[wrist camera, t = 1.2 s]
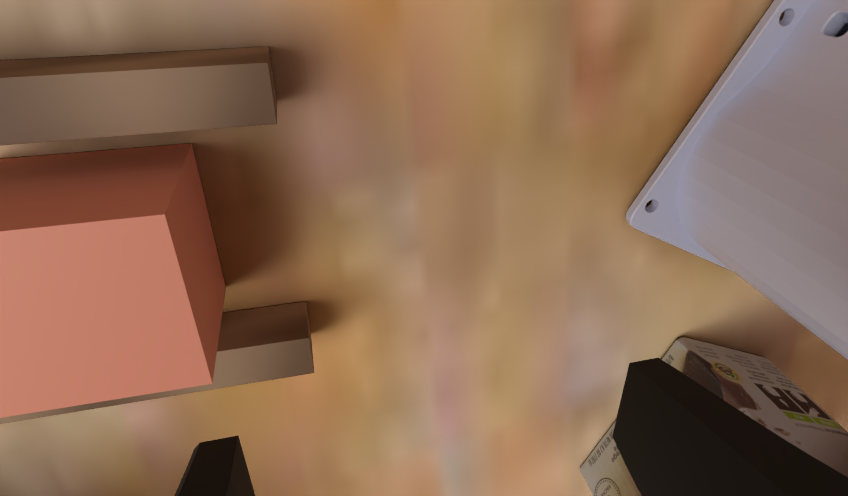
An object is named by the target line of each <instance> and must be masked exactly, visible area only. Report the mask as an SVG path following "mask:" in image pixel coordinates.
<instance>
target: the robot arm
mask: <svg viewBox="0 0 848 496" xmlns="http://www.w3.org/2000/svg"><path fill="white" fill-rule="evenodd" d="M784 10H785V13H784V17H783V19H782V20H781V21H780V22H779V18H780V16H781V14H782V12H783V11H784ZM650 200H652V202H651V204H650V205H649V206H648V207H645V206H646V204H647V203H648V202H649V201H650ZM626 220H627V222H628V223H629V224H630V225H631V226H632V227H633V228H635V229H637V230H639V231H642V232H644V233H646V234H648V235H651V236H653V237H655V238H658V239H660V240H662V241H665V242H667V243H669V244H671V245H674V246H676V247H678V248H681V249H683V250H685V251H687V252H690V253H692V254H694V255H697V256H699V257H701V258H703V259H706V260H708V261H710V262H713V263H715V264H717V265H719V266H722V267H724V268H726V269H729V270H731V271H733V272H734V273H736V274H737V275H738V276H740V277H741V278H742V279H743V280H745V281H746V282H747V283H749V284H750V285H751V286H753V287H754V288H755V289H756V290H758V291H759V292H760V293H762V294H763V295H764V296H766V297H767V298H768V299H769V300H771V301H772V302H773V303H775V304H776V305H777V306H778V307H780V308H781V309H782V310H784V311H785V312H786V313H788V314H789V315H790V316H791V317H793V318H794V319H795V320H797V321H798V322H799V323H801V324H802V325H803V326H804V327H806V328H807V329H808V330H810V331H811V332H812V333H813V334H815V335H816V336H817V337H819V338H820V339H821V340H823V341H824V342H825V343H826V344H828V345H829V346H830V347H832V348H833V349H834V350H835V351H837V352H838V353H839V354H841V355H842V356H843V357H845V358H846V359H847V360H848V0H774V1H773V3H772V4H771V6H770V7H769V9H768V10H767V11H766V13H765V14H764V16H763V17H762V19H761V20H760V21H759V23H758V24H757V26H756V27H755V29H754V30H753V31H752V33H751V34H750V36H749V37H748V39H747V40H746V41H745V43H744V44H743V46H742V47H741V49H740V50H739V52H738V53H737V54H736V56H735V57H734V59H733V60H732V62H731V63H730V64H729V66H728V67H727V69H726V70H725V72H724V73H723V74H722V76H721V77H720V79H719V80H718V82H717V83H716V84H715V86H714V87H713V89H712V90H711V92H710V93H709V94H708V96H707V97H706V99H705V100H704V102H703V103H702V105H701V106H700V107H699V109H698V110H697V112H696V113H695V115H694V116H693V117H692V119H691V120H690V122H689V123H688V125H687V126H686V127H685V129H684V130H683V132H682V133H681V135H680V136H679V137H678V139H677V140H676V142H675V143H674V145H673V146H672V147H671V149H670V150H669V152H668V153H667V155H666V156H665V158H664V159H663V160H662V162H661V163H660V165H659V166H658V168H657V169H656V170H655V172H654V173H653V175H652V176H651V178H650V179H649V180H648V182H647V183H646V185H645V186H644V188H643V189H642V190H641V192H640V193H639V195H638V196H637V198H636V199H635V200H634V202H633V203H632V205H631V206H630V208H629V209H628V211H627V213H626ZM612 437H613V439H614V441H615V443H616V445H617V447H618V450H619V452H620V454H621V456H622V458H623V460H624V463H625V465H626V467H627V469H628V471H629V473H630V475H631V477H632V479H633V481H634V483H635V485H636V487H637V488H638V490H639V492H640V493H641V495H642V496H848V477H847V476H845V475H843V474H841V473H840V472H838V471H836V470H835V469H833V468H831V467H829V466H828V465H826V464H824V463H823V462H821V461H819V460H818V459H816V458H814V457H812V456H811V455H809V454H807V453H806V452H804V451H803V450H801V449H799V448H798V447H796V446H794V445H793V444H791V443H790V442H788V441H786V440H785V439H783V438H782V437H780V436H778V435H777V434H775V433H774V432H772V431H770V430H769V429H767V428H766V427H764V426H763V425H761V424H760V423H758V422H756V421H755V420H753V419H752V418H750V417H749V416H747V415H746V414H744V413H743V412H741V411H740V410H738V409H736V408H735V407H733V406H732V405H730V404H729V403H727V402H726V401H724V400H723V399H721V398H720V397H718V396H717V395H715V394H714V393H712V392H711V391H709V390H708V389H706V388H705V387H703V386H702V385H700V384H699V383H697V382H696V381H694V380H693V379H691V378H690V377H688V376H686V375H685V374H683V373H682V372H680V371H679V370H677V369H676V368H674V367H673V366H671V365H669V364H668V363H666V362H665V361H663V360H661V359H660V358H654V359H649V360H643V361H638V362H633V363H630V364H629V368H628V372H627V376H626V381H625V385H624V389H623V393H622V398H621V402H620V406H619V410H618V414H617V419H616V423H615V427H614V431H613V436H612ZM175 496H255V494H254V490H253V487H252V483H251V479H250V476H249V472H248V469H247V465H246V462H245V458H244V455H243V451H242V447H241V444H240V440H239V437H238V436H234V437H228V438H223V439H218V440H212V441H207V442H201V443H199V444H198V446H197V447H196V448H195V449H194V451H193V454H192V456H191V459H190V461H189V464H188V466H187V468H186V471H185V473H184V475H183V478H182V480H181V482H180V485H179V487H178V489H177V491H176V494H175Z"/></svg>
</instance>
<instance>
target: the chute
mask: <svg viewBox="0 0 848 496" xmlns="http://www.w3.org/2000/svg"><path fill="white" fill-rule="evenodd" d="M268 124H277V100H276V93H275V86H274V79H273V73H272V66H271V59H270V52H269V46H268V47H249V48H230V49H210V50H191V51H172V52H152V53H133V54H114V55H94V56H75V57H56V58H36V59H17V60H0V145H11V144H24V143H37V142H50V141H63V140H75V139H88V138H101V137H114V136H127V135H140V134H153V133H166V132H178V131H191V130H204V129H217V128H230V127H243V126H256V125H268ZM310 373H314V365H313V353H312V341H311V332H310V325H309V318H308V311H307V304H306V301H305V302H298V303H291V304H284V305H276V306H269V307H262V308H255V309H248V310H240V311H233V312H226V313H222V319H221V326H220V333H219V340H218V348H217V355H216V362H215V369H214V377H213V384H208V385H201V386H195V387H189V388H183V389H177V390H170V391H164V392H158V393H152V394H146V395H139V396H133V397H127V398H121V399H115V400H108V401H102V402H96V403H90V404H83V405H77V406H71V407H65V408H59V409H52V410H46V411H40V412H34V413H28V414H21V415H15V416H9V417H3V418H0V424H3V423H9V422H15V421H21V420H27V419H34V418H40V417H46V416H52V415H58V414H64V413H70V412H77V411H83V410H89V409H95V408H101V407H107V406H113V405H120V404H126V403H132V402H138V401H144V400H150V399H156V398H163V397H169V396H175V395H181V394H187V393H193V392H199V391H206V390H212V389H218V388H224V387H230V386H236V385H242V384H248V383H255V382H261V381H267V380H273V379H279V378H285V377H291V376H298V375H304V374H310Z"/></svg>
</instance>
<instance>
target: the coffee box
mask: <svg viewBox="0 0 848 496" xmlns="http://www.w3.org/2000/svg"><path fill="white" fill-rule="evenodd" d="M662 360H663V361H665V362H666V363H668V364H669V365H671V366H673V367H674V368H676V369H677V370H679V371H680V372H682V373H683V374H685V375H686V376H688V377H690V378H691V379H693V380H694V381H696V382H697V383H699V384H700V385H702V386H703V387H705V388H706V389H708V390H709V391H711V392H712V393H714V394H715V395H717V396H718V397H720V398H721V399H723V400H724V401H726V402H727V403H729V404H730V405H732V406H733V407H735V408H736V409H738V410H740V411H741V412H743V413H744V414H746V415H747V416H749V417H750V418H752V419H753V420H755V421H756V422H758V423H760V424H761V425H763V426H764V427H766V428H767V429H769V430H770V431H772V432H774V433H775V434H777V435H778V436H780V437H782V438H783V439H785V440H786V441H788V442H790V443H791V444H793V445H794V446H796V447H798V448H799V449H801V450H803V451H804V452H806V453H807V454H809V455H811V456H812V457H814V458H816V459H818V460H819V461H821V462H823V463H824V464H826V465H828V466H829V467H831V468H833V469H835V470H836V471H838V472H840V473H841V474H843V475H845V476H847V477H848V432H847V431H846V430H845V429H844V428H843V427H842V426H841V425H840V424H839V423H838V422H836V421H835V420H834V419H833V418H832V417H831V416H830V415H829V414H828V413H826V412H825V411H824V410H823V409H822V408H821V407H820V406H819V405H818V404H817V403H815V402H814V401H813V400H812V399H811V398H810V397H809V396H808V395H807V394H806V393H805V392H804V391H802V390H801V389H800V388H799V387H798V386H797V385H796V384H795V383H794V382H793V381H792V380H791V379H789V378H788V377H787V376H786V375H785V374H784V373H783V372H782V371H781V370H780V369H779V368H778V367H776V366H775V365H774V364H773V363H772V362H771V361H770V360H768V359H767V358H764V357H760V356H757V355H753V354H749V353H745V352H741V351H737V350H734V349H730V348H726V347H722V346H717V345H714V344H710V343H706V342H702V341H698V340H694V339H690V338H685V337H681V338H679V339H677V340H676V341H675V342H674V343H673V345H672V346H671V347H670V349H669V350H668V351H667V353H666V354H665V355H664V357H663V358H662ZM615 423H616V421H615V422H614V423H613V425H612V426H611V427H610V429H609V430H608V431H607V433H606V434H605V435H604V437H603V438H602V439H601V441H600V442H599V443H598V445H597V446H596V447H595V449H594V450H593V451H592V453H591V454H590V455H589V456H588V458H587V459H586V460H585V462H584V463H583V464H582V466H581V467H580V472H581V474H582V476H583V477H584V479H585V481H586V483H587V485H588V486H589V488H590V490H591V492H592V494H593V496H642V495H641V493H640V492H639V490H638V488H637V487H636V485H635V483H634V481H633V479H632V477H631V475H630V473H629V471H628V469H627V467H626V465H625V463H624V460H623V458H622V456H621V454H620V452H619V450H618V447H617V445H616V443H615V441H614V439H613V437H612V436H613V431H614V427H615Z"/></svg>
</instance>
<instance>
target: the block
mask: <svg viewBox="0 0 848 496" xmlns="http://www.w3.org/2000/svg"><path fill="white" fill-rule="evenodd" d="M225 290H226V286H225V282H224V278H223V274H222V269H221V265H220V261H219V257H218V252H217V248H216V244H215V240H214V235H213V231H212V227H211V223H210V219H209V214H208V210H207V206H206V202H205V197H204V193H203V189H202V185H201V180H200V176H199V172H198V168H197V163H196V159H195V155H194V151H193V147H192V143H188V144H176V145H164V146H152V147H139V148H127V149H115V150H103V151H91V152H78V153H66V154H54V155H42V156H30V157H17V158H5V159H0V418H3V417H9V416H15V415H21V414H28V413H34V412H40V411H46V410H52V409H59V408H65V407H71V406H77V405H83V404H90V403H96V402H102V401H108V400H115V399H121V398H127V397H133V396H139V395H146V394H152V393H158V392H164V391H170V390H177V389H183V388H189V387H195V386H201V385H208V384H213V377H214V369H215V362H216V355H217V348H218V340H219V333H220V326H221V319H222V312H223V304H224V297H225Z"/></svg>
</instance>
